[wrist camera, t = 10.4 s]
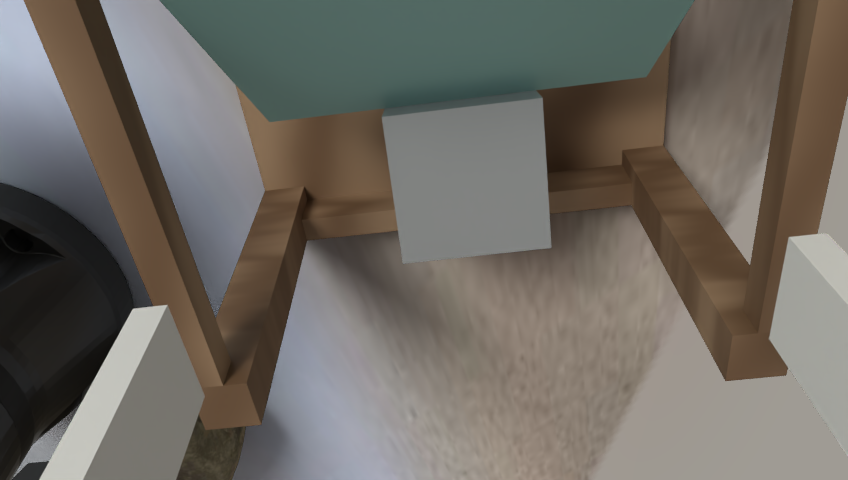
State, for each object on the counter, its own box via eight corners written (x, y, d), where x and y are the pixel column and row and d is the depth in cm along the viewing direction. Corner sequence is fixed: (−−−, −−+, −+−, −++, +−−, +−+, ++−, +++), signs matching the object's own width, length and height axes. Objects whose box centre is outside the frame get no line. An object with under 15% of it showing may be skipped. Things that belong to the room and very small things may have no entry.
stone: (275, 358, 41) (232, 540, 36) (233, 406, 52) (196, 548, 48) (124, 320, 38) (55, 510, 33) (114, 379, 50) (62, 526, 45)
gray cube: (391, 91, 31) (408, 215, 33) (381, 117, 26) (402, 263, 28) (523, 75, 31) (531, 201, 33) (542, 97, 25) (551, 248, 27)
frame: (277, 214, 37) (205, 429, 24) (154, -236, 26) (-91, -271, 14) (654, 172, 36) (786, 375, 23) (687, -316, 25) (964, -437, 12)
